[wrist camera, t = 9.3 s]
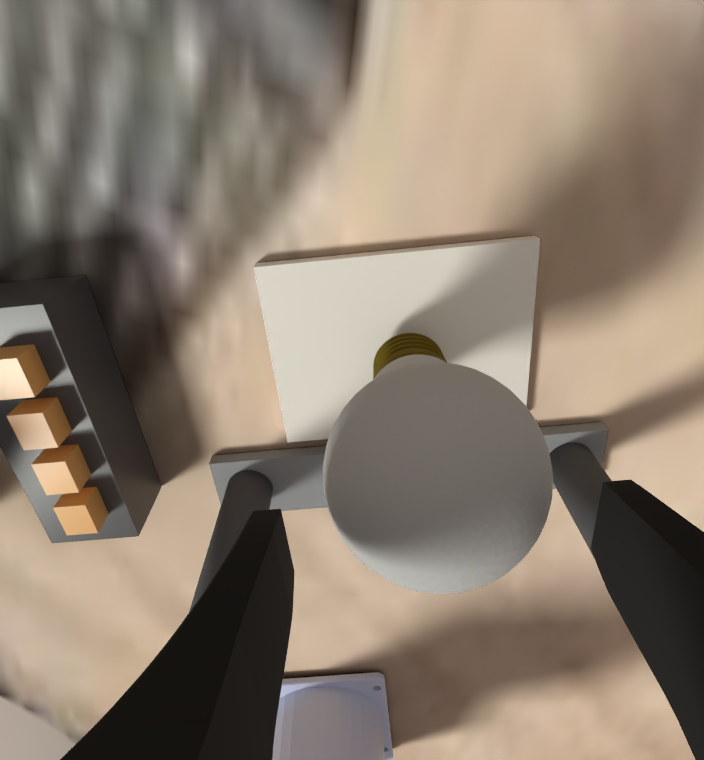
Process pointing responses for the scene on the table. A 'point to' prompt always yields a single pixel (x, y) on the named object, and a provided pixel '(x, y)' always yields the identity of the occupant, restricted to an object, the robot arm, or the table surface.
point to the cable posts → (305, 491)
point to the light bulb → (436, 472)
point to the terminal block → (70, 414)
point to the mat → (394, 319)
